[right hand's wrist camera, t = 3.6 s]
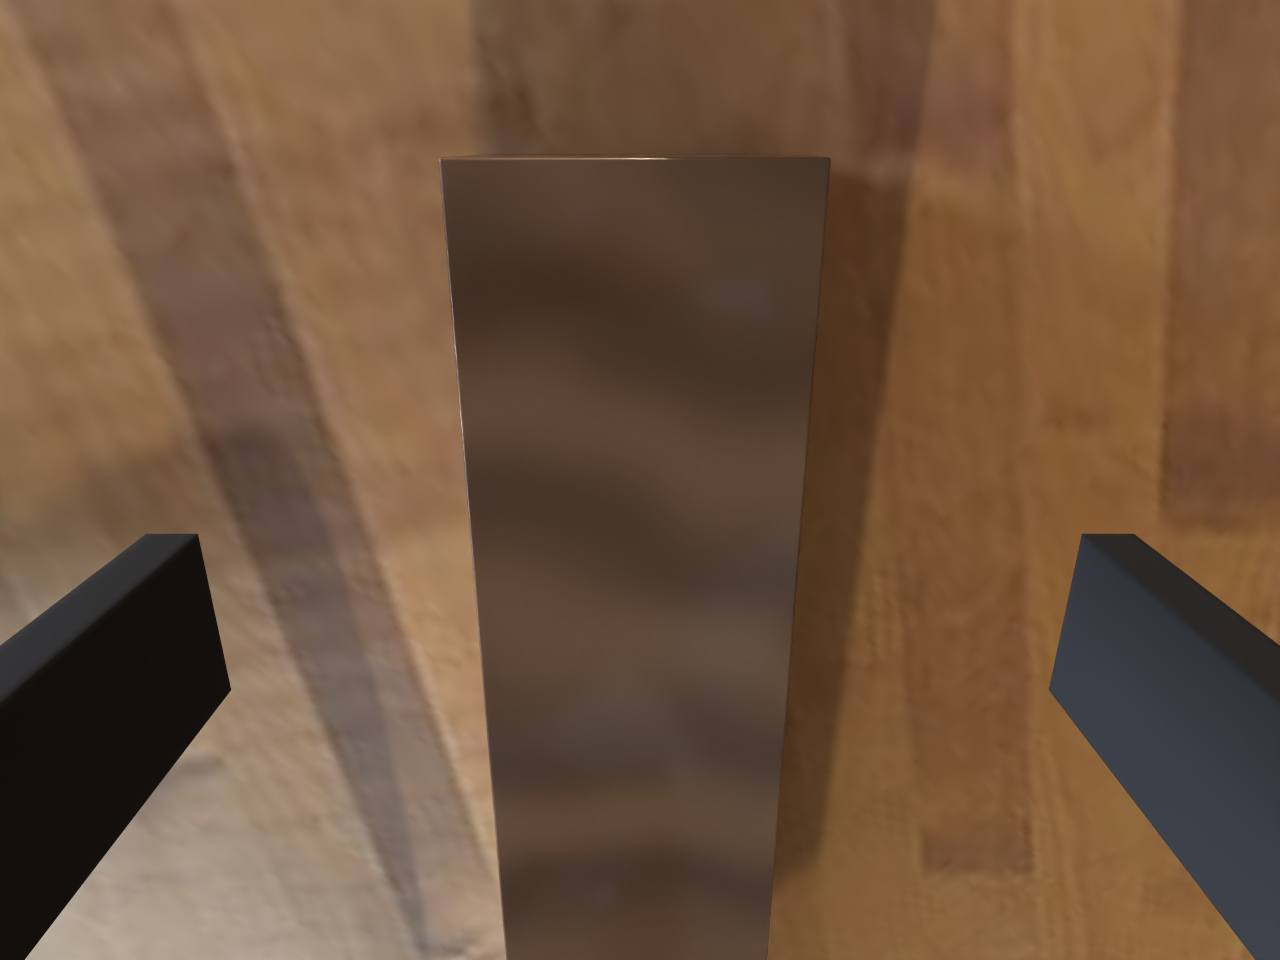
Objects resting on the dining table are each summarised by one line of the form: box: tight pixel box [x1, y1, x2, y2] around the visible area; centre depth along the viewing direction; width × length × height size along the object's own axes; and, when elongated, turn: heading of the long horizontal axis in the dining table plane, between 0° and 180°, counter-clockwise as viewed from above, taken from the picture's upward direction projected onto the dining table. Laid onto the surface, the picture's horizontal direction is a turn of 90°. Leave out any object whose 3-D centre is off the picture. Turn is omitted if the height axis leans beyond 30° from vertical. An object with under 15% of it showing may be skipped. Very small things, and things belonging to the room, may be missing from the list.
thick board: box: [439, 154, 831, 960], centre depth 35 cm, size 61×10×8 cm, turn 0°
